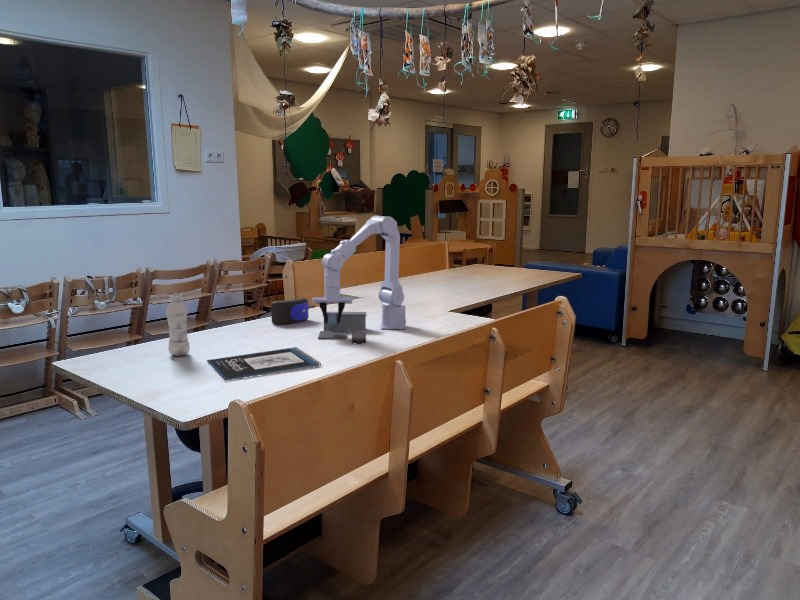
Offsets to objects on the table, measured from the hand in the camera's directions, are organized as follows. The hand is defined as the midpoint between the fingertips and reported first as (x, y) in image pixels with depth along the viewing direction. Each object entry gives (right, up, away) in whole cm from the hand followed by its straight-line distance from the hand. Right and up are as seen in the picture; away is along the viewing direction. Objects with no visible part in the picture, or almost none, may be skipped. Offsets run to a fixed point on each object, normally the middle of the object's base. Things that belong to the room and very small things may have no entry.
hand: (332, 322), depth 224 cm
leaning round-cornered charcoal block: (-20, -1, +22) cm, 30 cm away
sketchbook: (-18, -12, -35) cm, 41 cm away
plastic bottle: (-47, -10, -26) cm, 55 cm away
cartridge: (0, -1, 0) cm, 1 cm away
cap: (+10, -7, -8) cm, 14 cm away
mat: (0, -5, +1) cm, 5 cm away
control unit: (+4, -3, +10) cm, 11 cm away
